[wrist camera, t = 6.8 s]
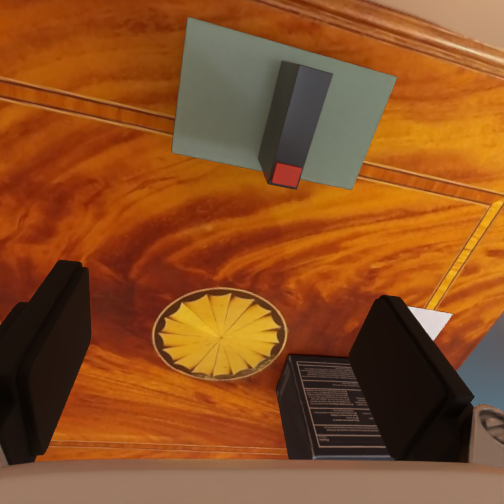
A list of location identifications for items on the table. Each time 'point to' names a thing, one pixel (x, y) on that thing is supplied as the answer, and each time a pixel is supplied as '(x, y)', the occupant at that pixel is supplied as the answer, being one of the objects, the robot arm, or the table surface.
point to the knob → (292, 122)
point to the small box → (326, 412)
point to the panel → (259, 102)
